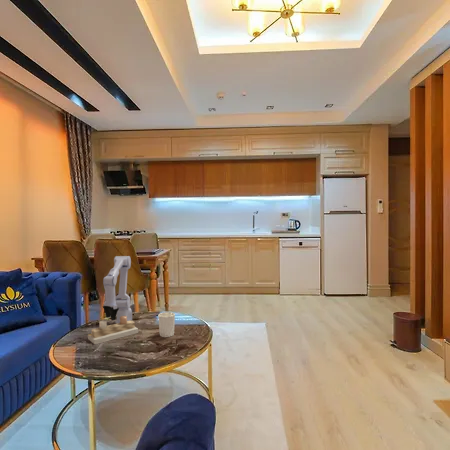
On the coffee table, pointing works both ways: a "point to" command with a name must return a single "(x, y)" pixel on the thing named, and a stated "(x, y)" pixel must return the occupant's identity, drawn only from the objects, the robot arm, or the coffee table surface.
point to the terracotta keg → (123, 319)
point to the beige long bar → (112, 329)
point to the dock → (112, 336)
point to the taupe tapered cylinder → (103, 324)
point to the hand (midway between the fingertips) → (110, 318)
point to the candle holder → (166, 324)
